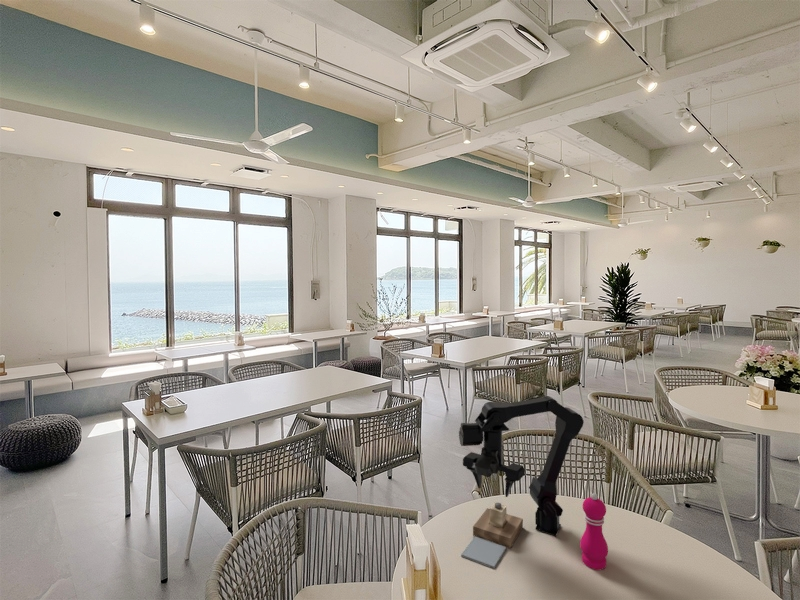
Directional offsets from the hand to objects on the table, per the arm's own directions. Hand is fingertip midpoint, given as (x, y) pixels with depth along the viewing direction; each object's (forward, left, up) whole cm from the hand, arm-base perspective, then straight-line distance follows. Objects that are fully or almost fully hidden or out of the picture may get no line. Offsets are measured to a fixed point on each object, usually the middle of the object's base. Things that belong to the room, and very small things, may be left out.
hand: (493, 492), depth 135 cm
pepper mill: (-29, -1, -13) cm, 32 cm away
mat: (-1, +11, -13) cm, 17 cm away
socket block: (-1, -1, -13) cm, 13 cm away
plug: (-1, -1, -13) cm, 13 cm away
